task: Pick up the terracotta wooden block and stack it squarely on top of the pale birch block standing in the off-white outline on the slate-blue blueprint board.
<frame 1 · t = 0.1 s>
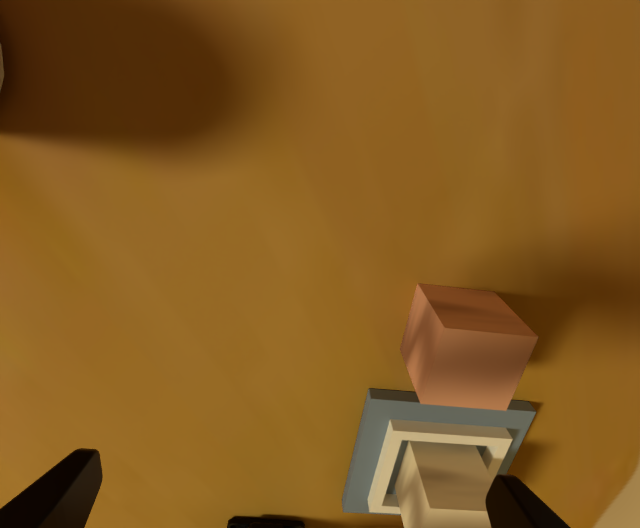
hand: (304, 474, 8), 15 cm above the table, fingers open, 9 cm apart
blueprint board: (429, 453, 29), on the table
base block: (433, 465, 28), point 1 cm above the table, touching blueprint board
top block: (445, 320, 24), on the table
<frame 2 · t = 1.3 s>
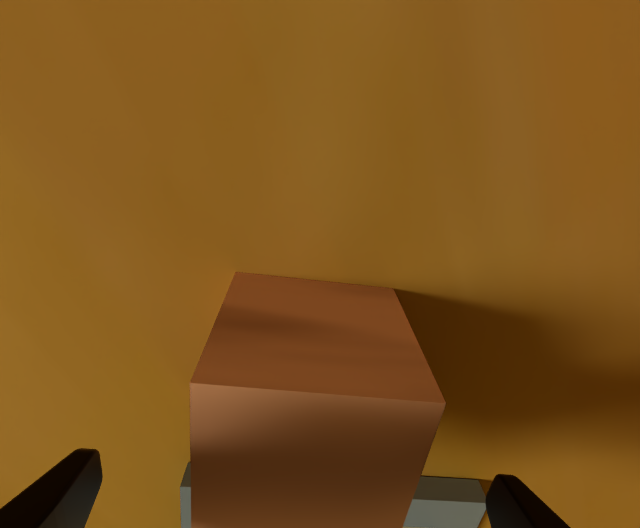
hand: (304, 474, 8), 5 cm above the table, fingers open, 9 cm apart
top block: (306, 344, 13), on the table
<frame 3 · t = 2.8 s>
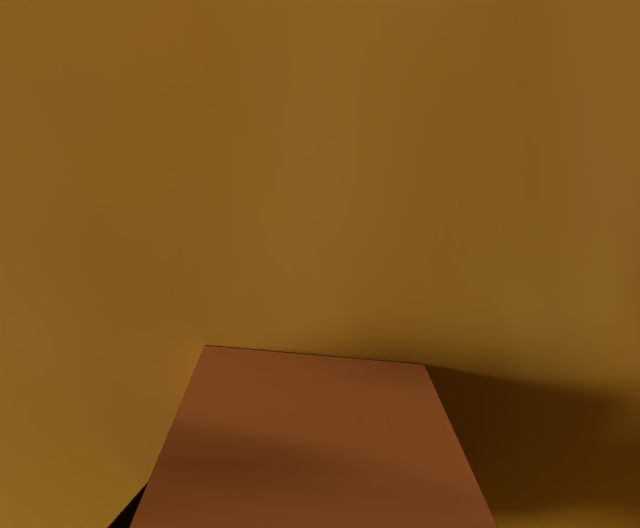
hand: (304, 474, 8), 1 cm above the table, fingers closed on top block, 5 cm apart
top block: (304, 435, 9), on the table, touching gripper
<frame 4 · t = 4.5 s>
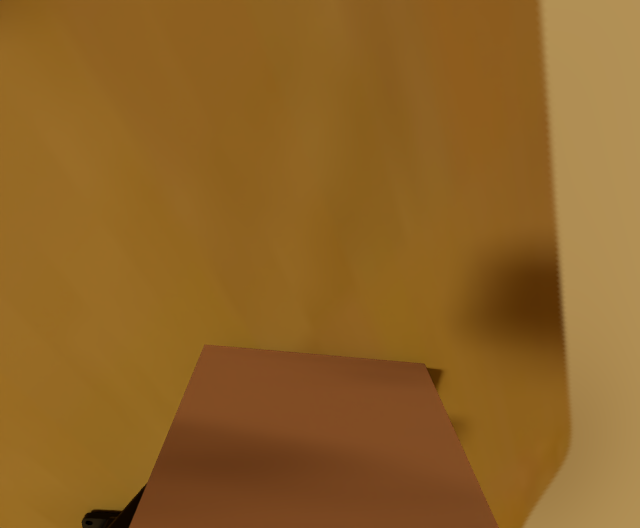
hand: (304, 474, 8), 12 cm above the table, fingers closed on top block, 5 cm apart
top block: (304, 435, 9), point 11 cm above the table, touching gripper
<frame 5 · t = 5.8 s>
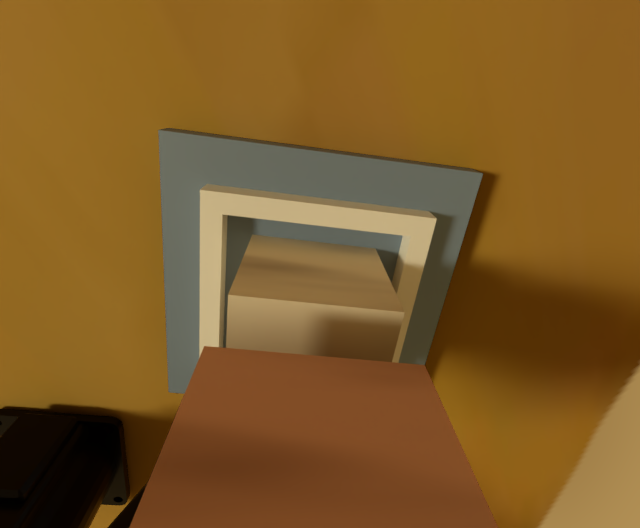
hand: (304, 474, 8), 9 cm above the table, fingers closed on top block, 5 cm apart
blueprint board: (307, 285, 17), on the table
base block: (307, 295, 16), point 1 cm above the table, touching blueprint board
top block: (304, 436, 9), point 8 cm above the table, touching gripper
when the fingers open (8 cm above the table, at t = 6.7 s): top block drops 1 cm, resting on base block.
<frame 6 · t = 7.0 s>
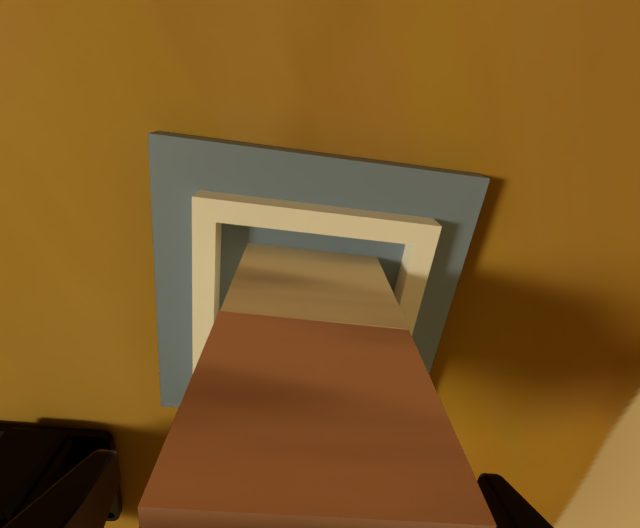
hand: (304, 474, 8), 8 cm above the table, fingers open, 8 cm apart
blueprint board: (305, 294, 16), on the table
base block: (305, 306, 15), point 1 cm above the table, touching blueprint board, top block
top block: (304, 394, 11), point 6 cm above the table, touching base block
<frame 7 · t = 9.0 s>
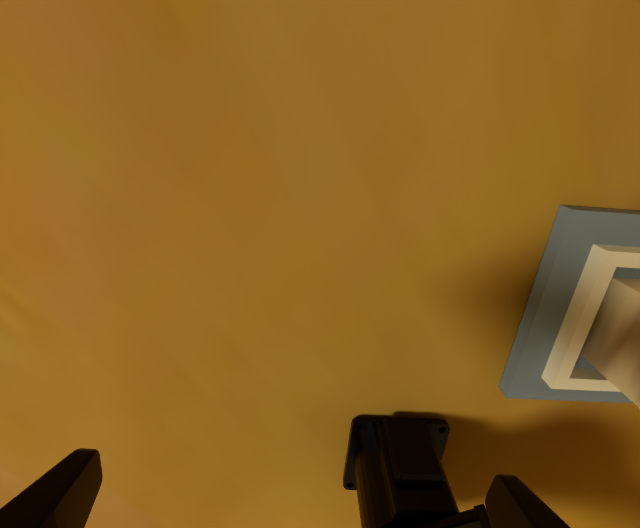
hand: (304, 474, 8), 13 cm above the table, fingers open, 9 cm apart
blueprint board: (623, 311, 22), on the table
base block: (637, 320, 21), point 1 cm above the table, touching blueprint board, top block
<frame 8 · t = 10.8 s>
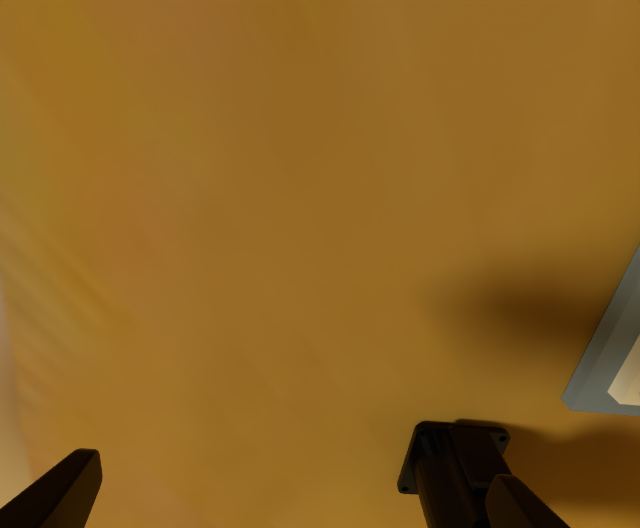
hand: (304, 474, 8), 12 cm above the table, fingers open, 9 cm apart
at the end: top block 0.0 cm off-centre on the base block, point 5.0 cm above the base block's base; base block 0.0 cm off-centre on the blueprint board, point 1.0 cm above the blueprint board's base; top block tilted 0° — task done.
